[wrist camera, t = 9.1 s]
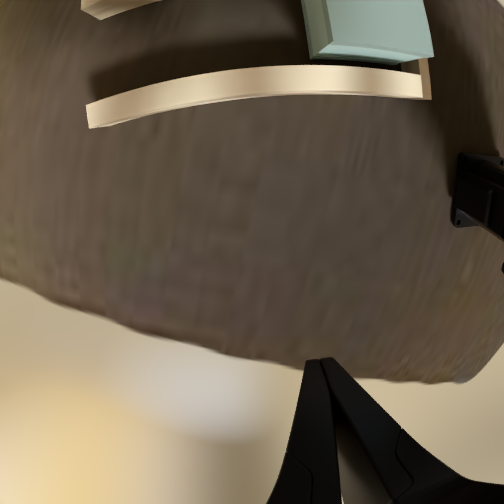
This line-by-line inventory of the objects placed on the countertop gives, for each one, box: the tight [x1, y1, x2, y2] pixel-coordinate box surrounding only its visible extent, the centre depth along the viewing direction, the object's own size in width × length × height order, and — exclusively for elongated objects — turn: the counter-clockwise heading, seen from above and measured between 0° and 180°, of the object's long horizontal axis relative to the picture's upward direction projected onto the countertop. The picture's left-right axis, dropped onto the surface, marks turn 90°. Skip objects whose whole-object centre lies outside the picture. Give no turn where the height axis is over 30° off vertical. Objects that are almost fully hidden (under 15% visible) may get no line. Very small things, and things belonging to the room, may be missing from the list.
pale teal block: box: [301, 0, 434, 65], centre depth 11 cm, size 6×5×5 cm
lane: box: [81, 0, 423, 129], centre depth 12 cm, size 20×10×3 cm, turn 96°
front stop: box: [401, 58, 432, 100], centre depth 12 cm, size 1×10×2 cm, turn 6°
